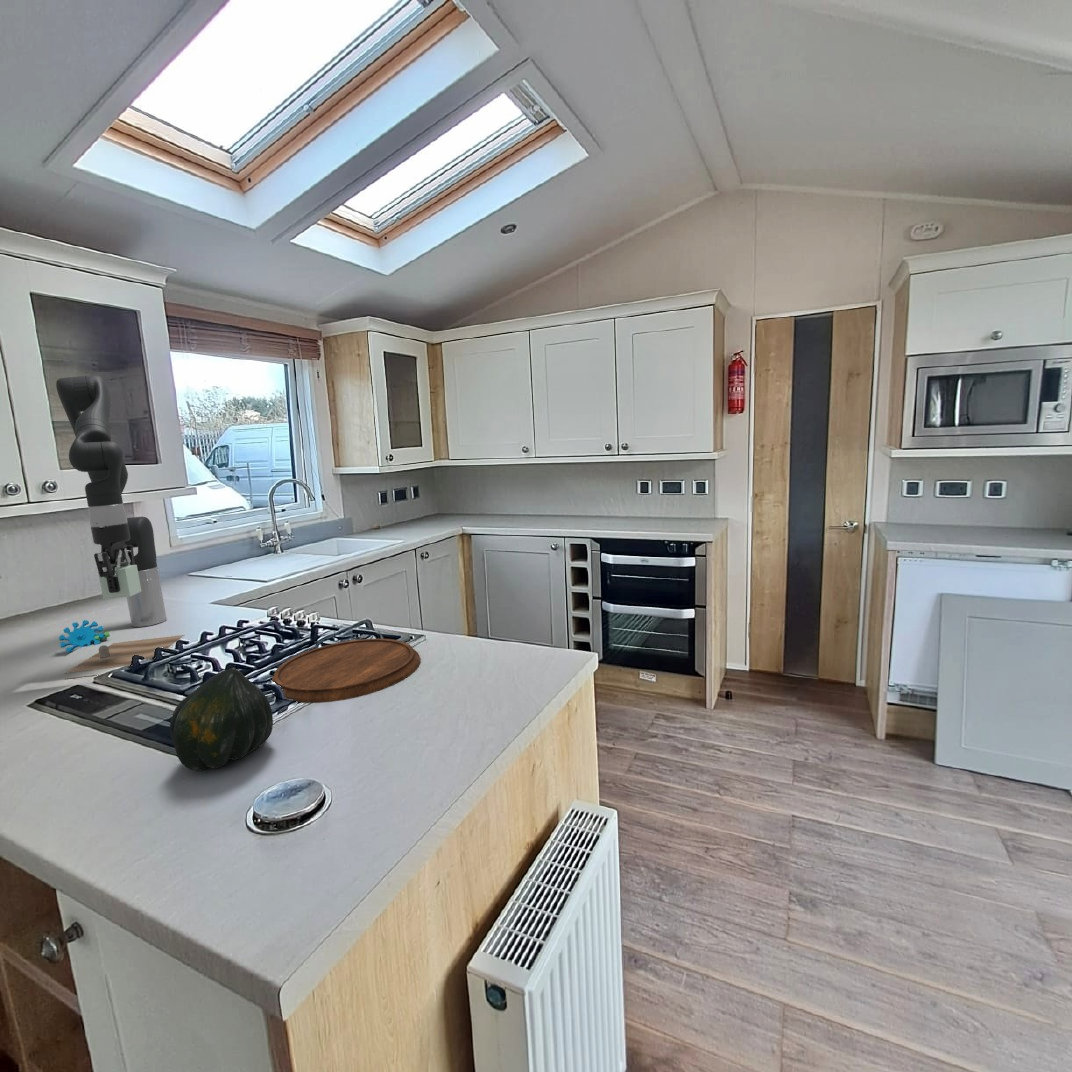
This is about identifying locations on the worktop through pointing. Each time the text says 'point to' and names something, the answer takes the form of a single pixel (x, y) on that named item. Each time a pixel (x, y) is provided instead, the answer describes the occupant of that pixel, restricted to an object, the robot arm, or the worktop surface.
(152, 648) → the board
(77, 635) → the gear
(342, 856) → the worktop surface
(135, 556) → the robot arm
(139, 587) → the pale green block
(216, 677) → the squash
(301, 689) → the cutting board
